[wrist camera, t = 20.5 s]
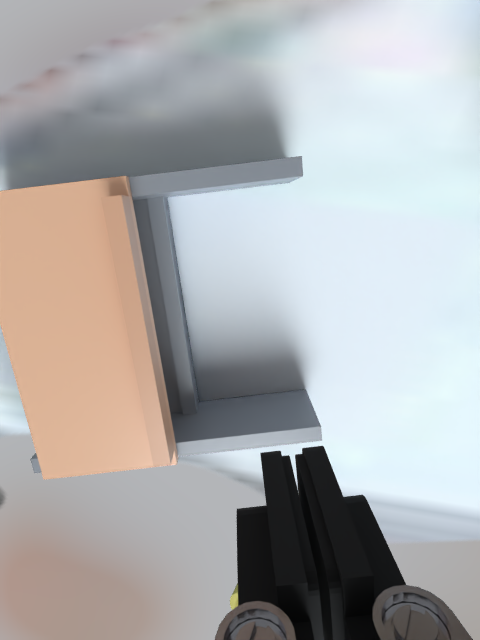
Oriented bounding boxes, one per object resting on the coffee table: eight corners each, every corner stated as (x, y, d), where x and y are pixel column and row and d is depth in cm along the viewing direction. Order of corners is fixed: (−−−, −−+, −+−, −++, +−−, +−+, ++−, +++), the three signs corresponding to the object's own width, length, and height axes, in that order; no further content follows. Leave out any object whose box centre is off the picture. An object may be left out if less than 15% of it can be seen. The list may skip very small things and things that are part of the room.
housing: (287, 166, 32) (301, 156, 26) (306, 401, 38) (321, 440, 31) (2, 201, 33) (-53, 199, 26) (61, 429, 38) (26, 473, 31)
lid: (128, 176, 26) (117, 173, 23) (178, 458, 31) (173, 480, 29) (-28, 195, 26) (-56, 194, 23) (48, 472, 31) (32, 495, 29)
